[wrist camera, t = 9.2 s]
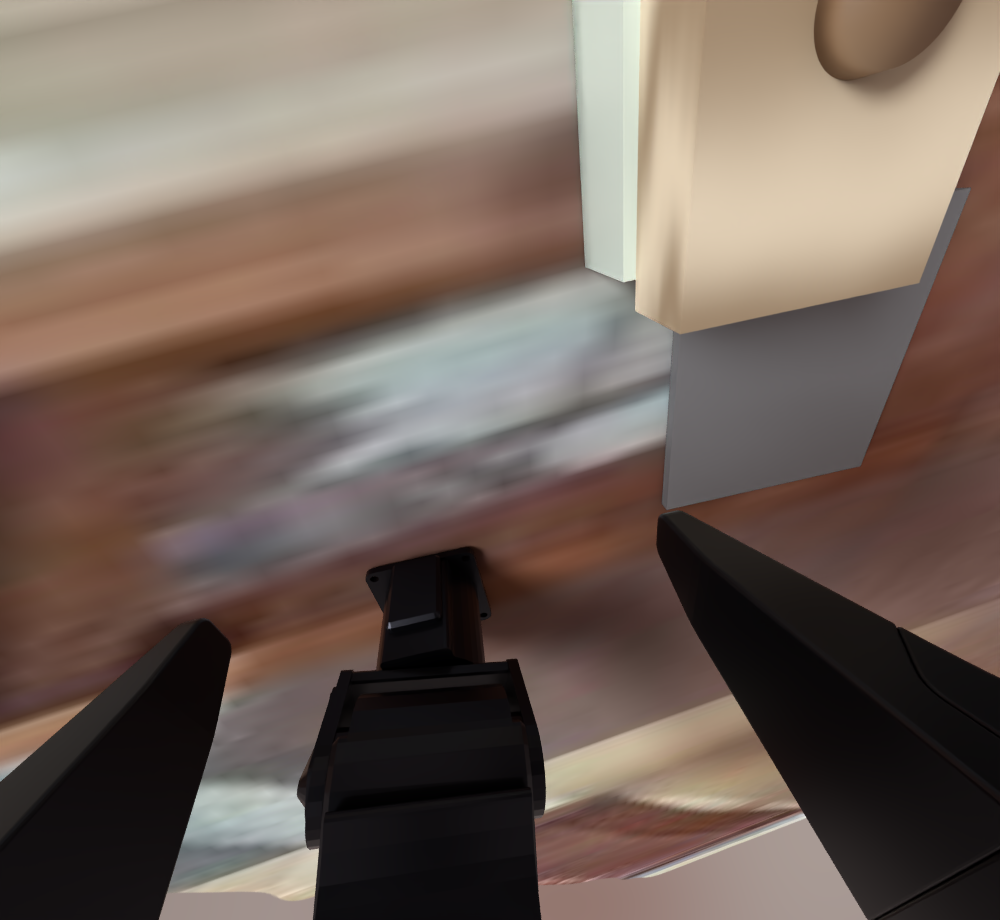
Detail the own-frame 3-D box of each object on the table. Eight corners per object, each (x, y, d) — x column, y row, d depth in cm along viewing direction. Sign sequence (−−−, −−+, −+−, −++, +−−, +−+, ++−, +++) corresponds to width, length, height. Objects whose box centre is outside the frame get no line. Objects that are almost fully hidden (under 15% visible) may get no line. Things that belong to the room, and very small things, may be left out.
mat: (851, 460, 24) (860, 466, 24) (661, 503, 24) (666, 510, 24) (955, 188, 17) (971, 187, 16) (679, 247, 17) (686, 248, 16)
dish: (772, 227, 17) (857, 232, 13) (585, 266, 16) (623, 282, 13) (844, -181, 11) (1019, -347, 8) (565, -127, 11) (622, -274, 8)
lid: (831, 269, 14) (949, 287, 11) (635, 310, 14) (695, 342, 10) (1019, -445, 7) (1474, -952, 4) (647, -380, 7) (816, -854, 4)
